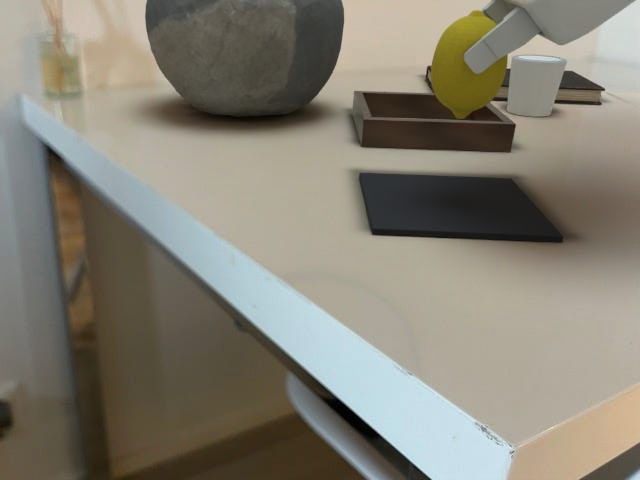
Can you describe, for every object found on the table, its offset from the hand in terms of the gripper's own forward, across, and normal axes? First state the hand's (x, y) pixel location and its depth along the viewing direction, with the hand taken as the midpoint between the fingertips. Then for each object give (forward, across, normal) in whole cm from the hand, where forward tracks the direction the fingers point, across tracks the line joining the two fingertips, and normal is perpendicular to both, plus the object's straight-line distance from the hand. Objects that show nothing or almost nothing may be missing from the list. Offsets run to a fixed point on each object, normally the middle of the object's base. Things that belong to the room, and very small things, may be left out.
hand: (461, 58), depth 50 cm
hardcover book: (-2, -55, +19) cm, 58 cm away
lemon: (+3, 0, +4) cm, 5 cm away
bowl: (+24, -32, -7) cm, 41 cm away
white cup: (-2, -40, +19) cm, 45 cm away
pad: (+8, 0, +9) cm, 12 cm away
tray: (+8, -26, +9) cm, 28 cm away
